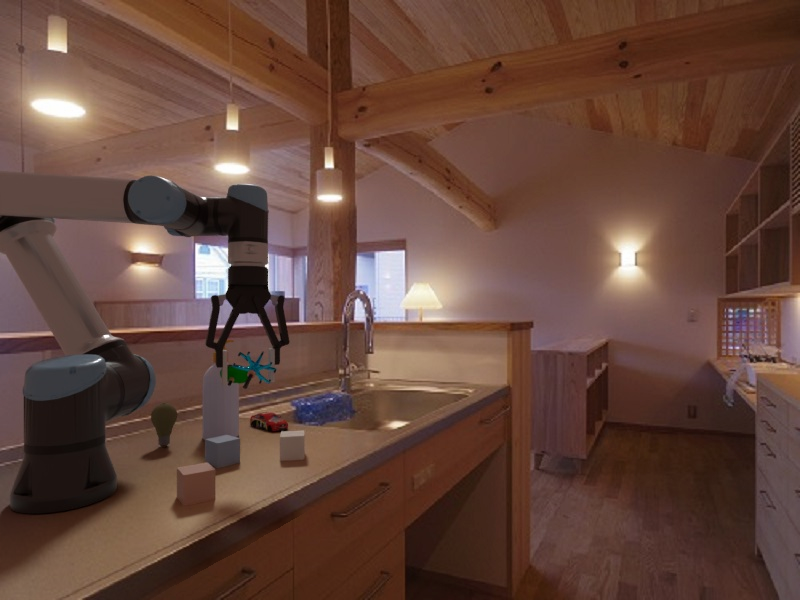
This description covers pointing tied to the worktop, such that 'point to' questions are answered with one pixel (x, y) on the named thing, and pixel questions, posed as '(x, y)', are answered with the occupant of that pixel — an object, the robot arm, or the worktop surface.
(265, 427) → the race car
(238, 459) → the slate blue cube
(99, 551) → the worktop surface
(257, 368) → the stick construction toy
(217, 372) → the soap bottle
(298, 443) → the cream cube
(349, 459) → the worktop surface
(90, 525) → the worktop surface
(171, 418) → the light bulb
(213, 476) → the terracotta cube
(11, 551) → the worktop surface
